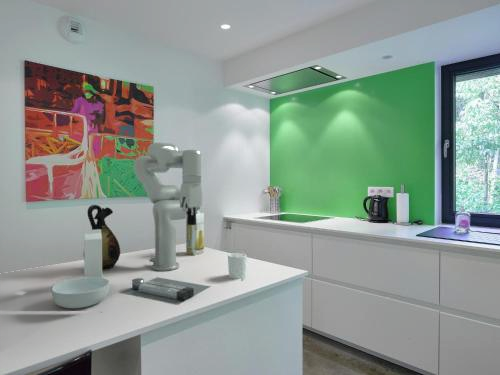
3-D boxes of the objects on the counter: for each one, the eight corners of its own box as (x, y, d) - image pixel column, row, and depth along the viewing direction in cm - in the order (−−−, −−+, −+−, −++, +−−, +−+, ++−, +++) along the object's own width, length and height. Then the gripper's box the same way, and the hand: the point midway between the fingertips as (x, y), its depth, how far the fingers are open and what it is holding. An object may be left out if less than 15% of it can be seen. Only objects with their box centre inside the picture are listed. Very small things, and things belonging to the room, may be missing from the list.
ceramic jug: (104, 263, 160) (104, 202, 159) (127, 267, 153) (127, 204, 152) (72, 272, 144) (71, 205, 144) (96, 277, 138) (95, 206, 137)
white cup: (244, 282, 132) (244, 257, 132) (225, 280, 134) (225, 256, 134) (248, 276, 140) (248, 253, 140) (230, 275, 142) (230, 252, 141)
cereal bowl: (49, 320, 96) (49, 296, 96) (53, 301, 111) (53, 280, 111) (111, 309, 104) (111, 287, 104) (107, 293, 119) (107, 274, 119)
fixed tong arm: (138, 291, 117) (138, 284, 117) (143, 289, 119) (143, 282, 119) (183, 300, 108) (183, 293, 108) (188, 298, 111) (188, 290, 111)
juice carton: (194, 256, 176) (194, 211, 175) (184, 254, 180) (183, 211, 180) (206, 252, 184) (206, 210, 183) (195, 251, 188) (195, 209, 187)
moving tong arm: (129, 288, 120) (129, 280, 120) (139, 285, 124) (139, 277, 124) (185, 300, 109) (185, 291, 109) (193, 295, 113) (193, 286, 113)
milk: (102, 287, 125) (102, 230, 125) (84, 289, 122) (84, 231, 122) (100, 282, 131) (100, 228, 130) (84, 284, 128) (83, 229, 127)
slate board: (119, 295, 117) (119, 292, 117) (157, 279, 135) (157, 277, 135) (178, 307, 106) (178, 304, 106) (210, 289, 124) (210, 286, 124)
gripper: (194, 180, 142) (194, 221, 142) (172, 180, 128) (172, 226, 129) (209, 180, 139) (209, 223, 139) (188, 180, 125) (188, 227, 126)
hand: (191, 224), depth 134 cm, fingers closed
